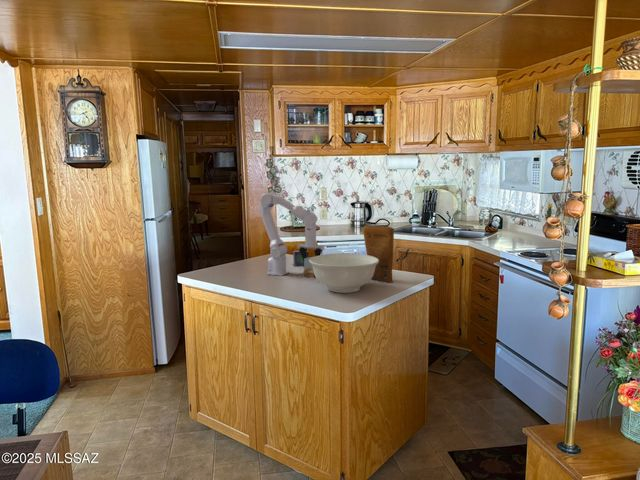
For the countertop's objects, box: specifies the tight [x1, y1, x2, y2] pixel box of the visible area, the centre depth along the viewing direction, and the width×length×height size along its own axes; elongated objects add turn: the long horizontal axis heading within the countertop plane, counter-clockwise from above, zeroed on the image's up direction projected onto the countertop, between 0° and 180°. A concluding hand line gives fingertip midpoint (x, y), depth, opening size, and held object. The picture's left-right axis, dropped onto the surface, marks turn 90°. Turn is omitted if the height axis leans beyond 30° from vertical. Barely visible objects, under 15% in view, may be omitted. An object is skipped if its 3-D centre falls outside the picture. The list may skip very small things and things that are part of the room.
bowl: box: [309, 252, 379, 294], centre depth 223 cm, size 32×32×15 cm
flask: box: [292, 250, 310, 267], centre depth 275 cm, size 9×3×11 cm, turn 76°
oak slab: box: [303, 267, 314, 273], centre depth 251 cm, size 6×6×2 cm
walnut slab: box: [302, 271, 315, 278], centre depth 251 cm, size 6×6×2 cm
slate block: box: [303, 256, 313, 269], centre depth 250 cm, size 5×5×5 cm
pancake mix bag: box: [362, 225, 395, 283], centre depth 238 cm, size 7×19×28 cm, turn 40°
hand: (310, 262), depth 250 cm, fingers open, 6 cm apart
